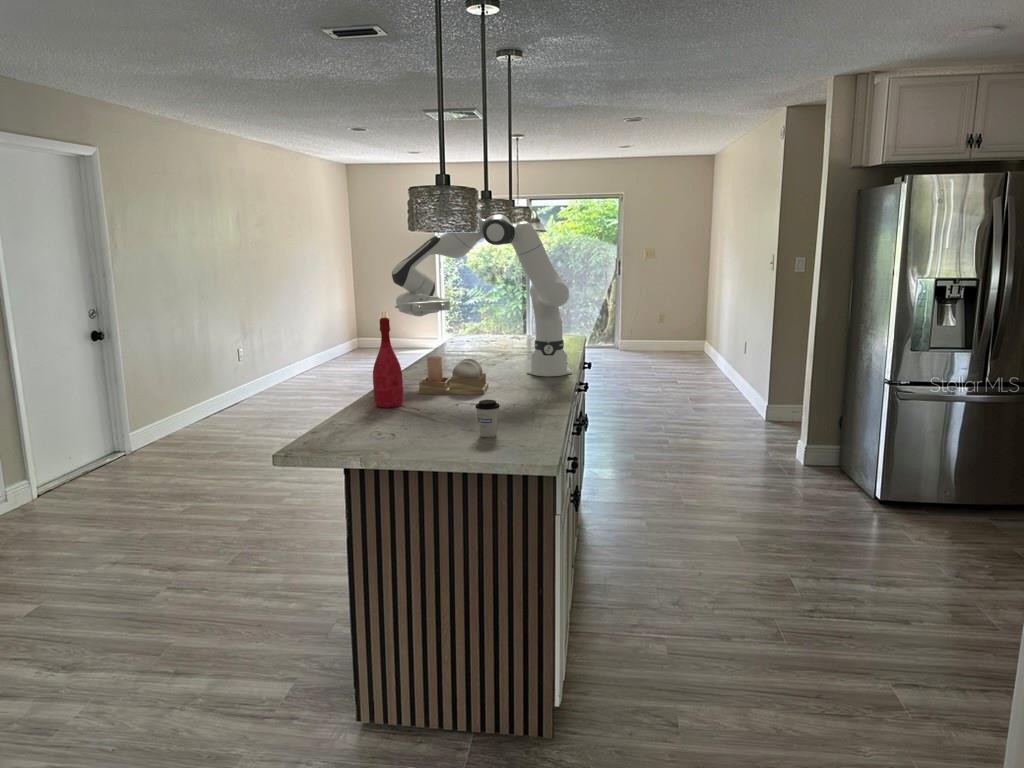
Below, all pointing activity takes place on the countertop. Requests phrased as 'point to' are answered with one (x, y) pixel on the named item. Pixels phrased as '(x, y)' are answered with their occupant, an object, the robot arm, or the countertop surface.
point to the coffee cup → (487, 417)
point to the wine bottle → (387, 372)
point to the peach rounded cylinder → (434, 369)
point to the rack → (458, 380)
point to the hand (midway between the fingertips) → (432, 307)
